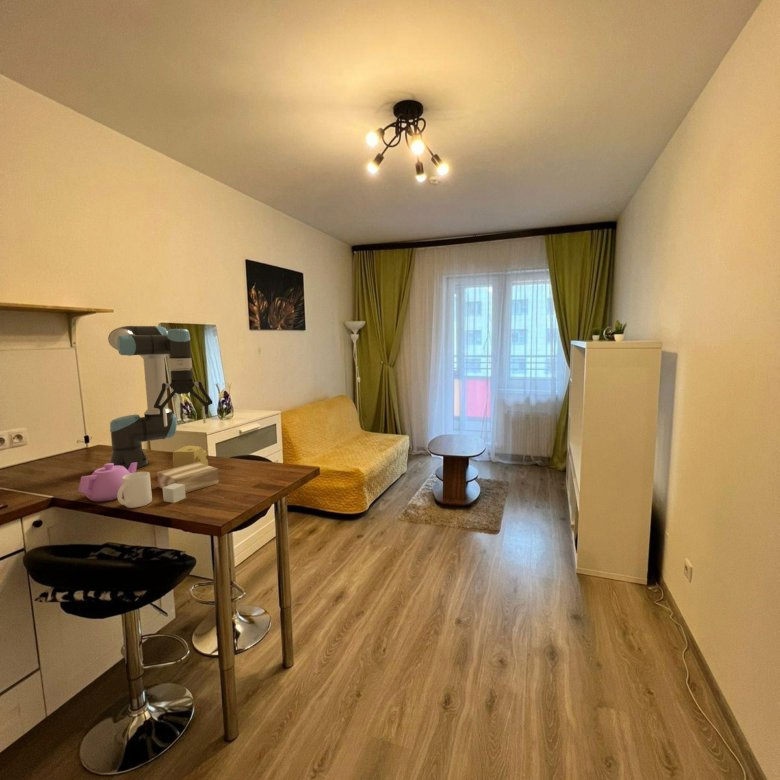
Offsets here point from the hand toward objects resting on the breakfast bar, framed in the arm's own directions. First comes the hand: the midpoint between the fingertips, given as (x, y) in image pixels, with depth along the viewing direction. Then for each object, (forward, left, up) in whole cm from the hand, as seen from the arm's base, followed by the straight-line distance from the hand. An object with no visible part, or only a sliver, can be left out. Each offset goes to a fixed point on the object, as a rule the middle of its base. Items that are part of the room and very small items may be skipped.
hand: (185, 424), depth 159 cm
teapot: (-16, -22, -25) cm, 37 cm away
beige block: (+9, -11, -25) cm, 29 cm away
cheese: (-21, +11, -25) cm, 34 cm away
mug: (+3, -22, -25) cm, 33 cm away
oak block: (-2, 0, -25) cm, 25 cm away
